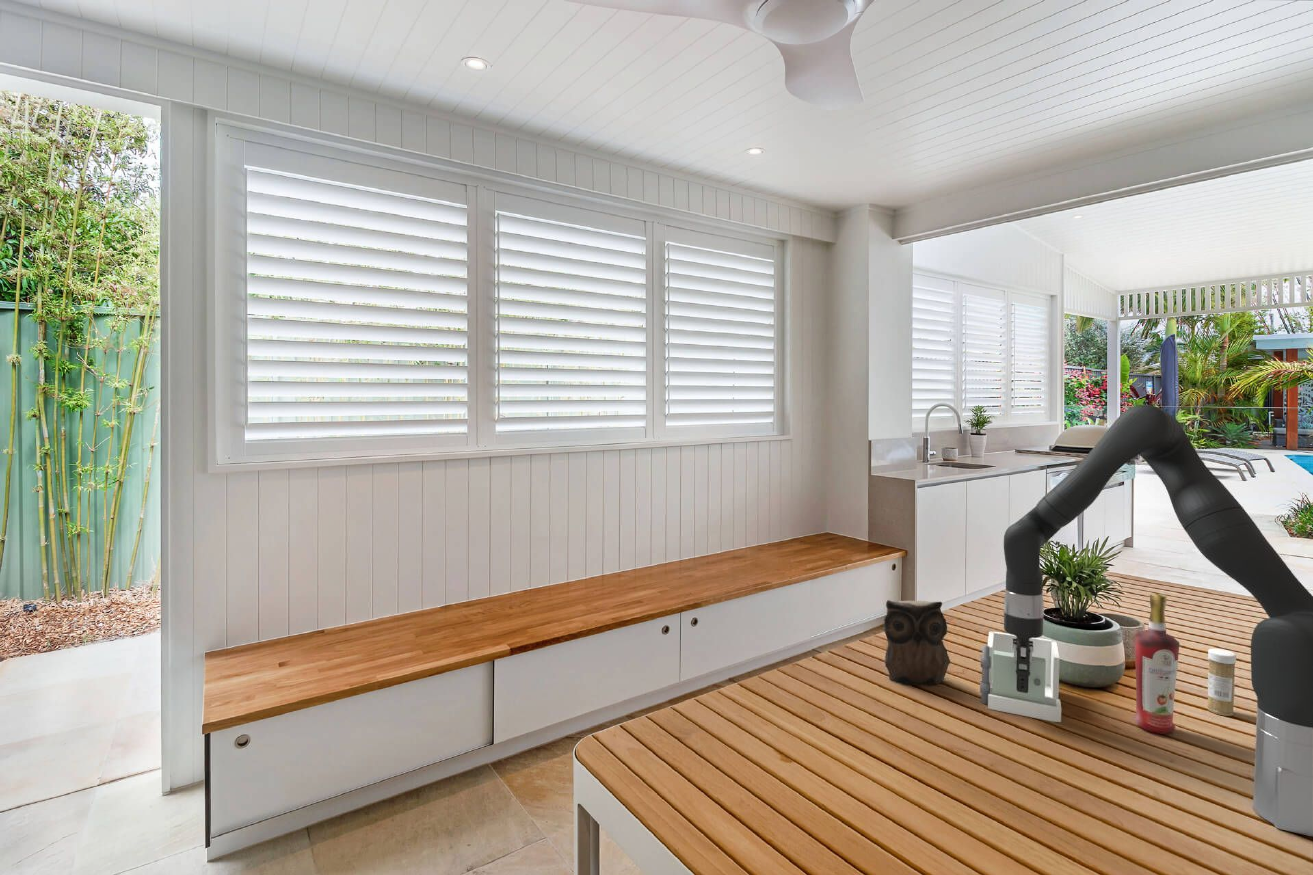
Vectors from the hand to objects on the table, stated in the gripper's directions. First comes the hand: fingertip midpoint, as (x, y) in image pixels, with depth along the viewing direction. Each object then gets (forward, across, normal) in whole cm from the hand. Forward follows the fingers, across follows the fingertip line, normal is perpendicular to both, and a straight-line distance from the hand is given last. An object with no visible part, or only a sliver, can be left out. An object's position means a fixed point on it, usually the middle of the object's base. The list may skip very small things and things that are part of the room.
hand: (1022, 684), depth 142 cm
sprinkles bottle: (+6, +20, -38) cm, 43 cm away
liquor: (+6, +4, -24) cm, 25 cm away
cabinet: (+6, +6, 0) cm, 8 cm away
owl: (+6, +8, +23) cm, 25 cm away
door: (+6, 0, +1) cm, 6 cm away
